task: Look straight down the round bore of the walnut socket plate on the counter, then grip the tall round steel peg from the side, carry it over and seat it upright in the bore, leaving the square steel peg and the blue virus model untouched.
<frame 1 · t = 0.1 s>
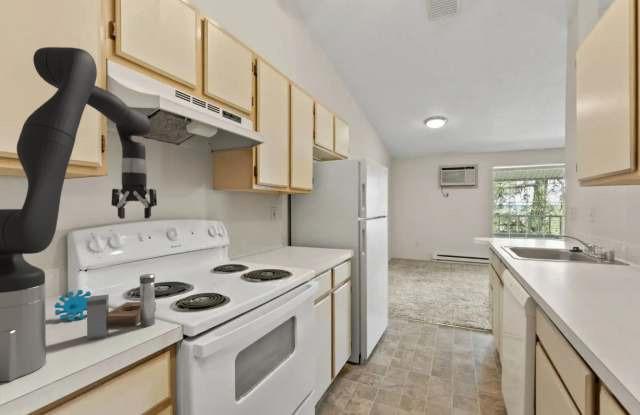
hand: (134, 218, 108), 29 cm above the worktop, tool pointing down, fingers open, 8 cm apart
square bit: (98, 335, 80), on the worktop
blue virus model: (78, 317, 93), on the worktop
round bit: (147, 324, 87), on the worktop
socket plate: (130, 318, 92), on the worktop
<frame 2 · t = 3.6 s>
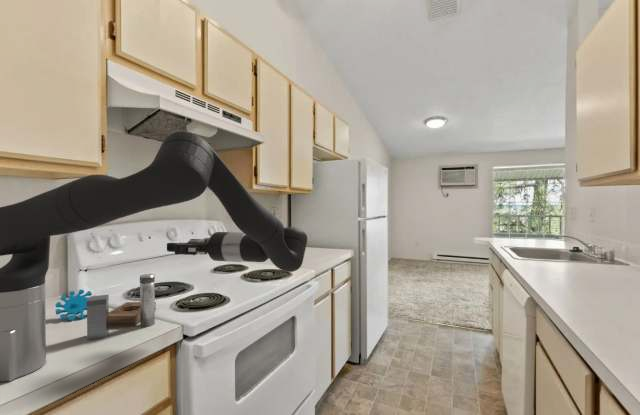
hand: (179, 244, 84), 23 cm above the worktop, tool horizontal, fingers open, 8 cm apart
nothing on the worktop moved.
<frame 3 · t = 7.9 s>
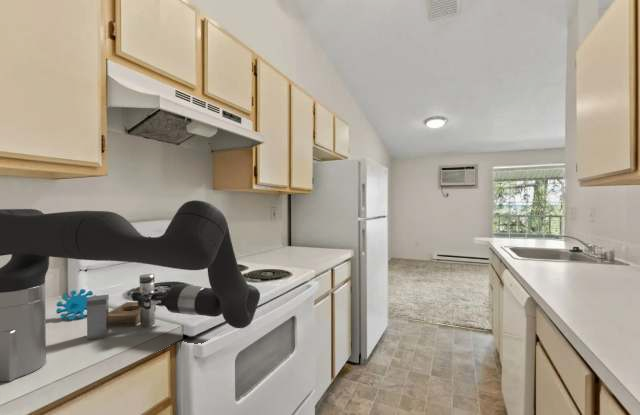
hand: (139, 294, 88), 8 cm above the worktop, tool horizontal, fingers closed on round bit, 3 cm apart
round bit: (147, 324, 87), on the worktop, touching gripper
everything else where it was.
when the fingers open (11 cm above the worktop, at t = 12.0 s): round bit drops 2 cm, resting on socket plate.
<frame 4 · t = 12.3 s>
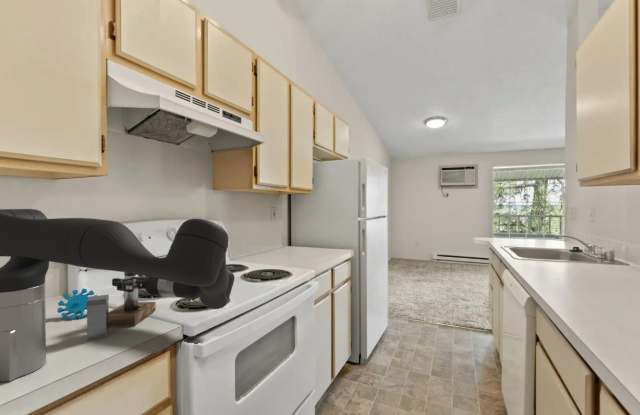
hand: (124, 279, 93), 12 cm above the worktop, tool horizontal, fingers open, 6 cm apart
round bit: (130, 314, 92), point 1 cm above the worktop, touching socket plate
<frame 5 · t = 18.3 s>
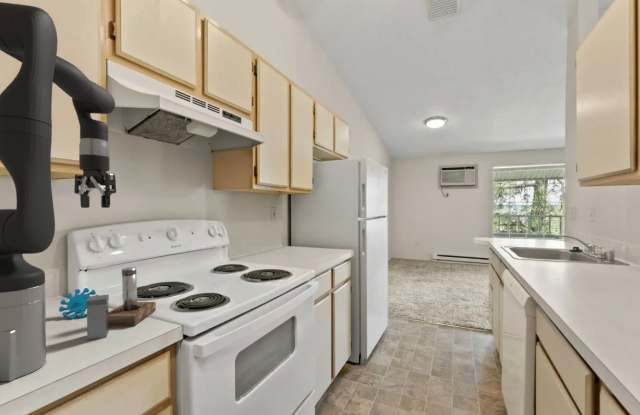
hand: (95, 207, 95), 33 cm above the worktop, tool pointing down, fingers open, 8 cm apart
at the end: round bit 0.1 cm off-centre on the socket plate, point 1.0 cm above the socket plate's base; round bit tilted 1°; the gripper is holding nothing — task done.
